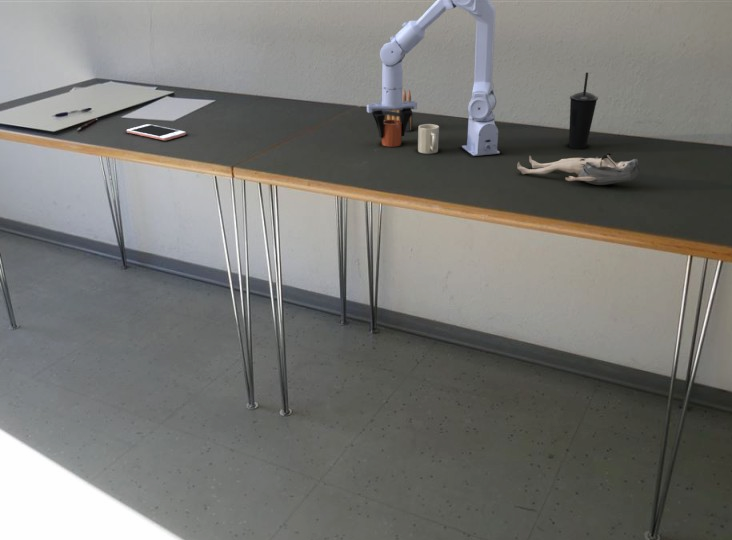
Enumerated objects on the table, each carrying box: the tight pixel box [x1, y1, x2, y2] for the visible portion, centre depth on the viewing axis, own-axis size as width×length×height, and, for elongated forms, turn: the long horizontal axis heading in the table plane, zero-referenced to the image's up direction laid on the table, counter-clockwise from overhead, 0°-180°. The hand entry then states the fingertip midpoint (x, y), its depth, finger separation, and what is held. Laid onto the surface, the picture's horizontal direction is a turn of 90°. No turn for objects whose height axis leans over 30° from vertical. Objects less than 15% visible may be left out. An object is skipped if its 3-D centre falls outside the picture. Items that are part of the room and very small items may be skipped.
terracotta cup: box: [381, 120, 403, 148], centre depth 235 cm, size 8×6×6 cm
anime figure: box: [516, 152, 640, 186], centre depth 202 cm, size 10×7×30 cm
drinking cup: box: [568, 72, 599, 149], centre depth 225 cm, size 8×8×20 cm
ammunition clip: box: [382, 88, 414, 132], centre depth 248 cm, size 11×2×12 cm, turn 53°
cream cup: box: [417, 123, 440, 155], centre depth 226 cm, size 8×6×7 cm
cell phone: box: [126, 123, 187, 142], centre depth 250 cm, size 9×18×1 cm, turn 53°
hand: (391, 136), depth 234 cm, fingers closed on terracotta cup, 6 cm apart
